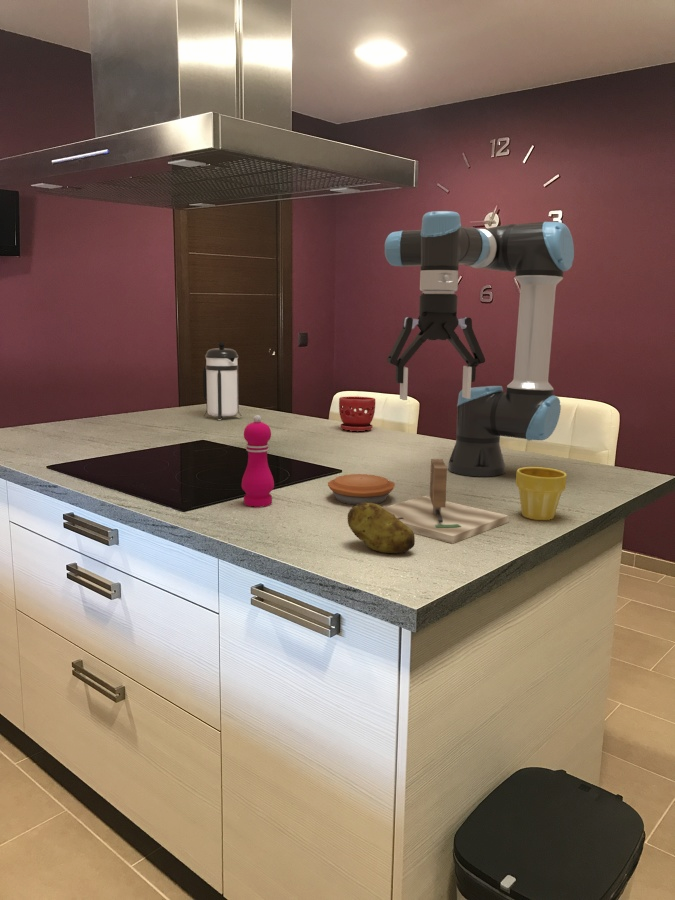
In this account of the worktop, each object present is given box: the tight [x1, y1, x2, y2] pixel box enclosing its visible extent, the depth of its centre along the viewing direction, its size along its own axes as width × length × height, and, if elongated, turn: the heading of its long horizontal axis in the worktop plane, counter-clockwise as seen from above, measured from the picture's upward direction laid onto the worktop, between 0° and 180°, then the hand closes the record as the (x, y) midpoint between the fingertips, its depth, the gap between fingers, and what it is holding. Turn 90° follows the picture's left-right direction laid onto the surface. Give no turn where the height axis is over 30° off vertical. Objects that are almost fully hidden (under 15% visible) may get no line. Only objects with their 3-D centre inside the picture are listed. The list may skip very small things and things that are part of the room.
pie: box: [327, 473, 396, 506], centre depth 167 cm, size 15×16×5 cm
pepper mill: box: [241, 414, 275, 508], centre depth 160 cm, size 7×7×20 cm
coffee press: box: [202, 341, 243, 420], centre depth 284 cm, size 17×16×30 cm
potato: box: [347, 502, 416, 554], centre depth 132 cm, size 8×13×8 cm, turn 38°
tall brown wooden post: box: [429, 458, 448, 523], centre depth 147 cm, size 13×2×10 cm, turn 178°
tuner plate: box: [382, 495, 510, 545], centre depth 150 cm, size 20×22×2 cm
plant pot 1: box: [338, 396, 376, 432], centre depth 262 cm, size 13×13×12 cm
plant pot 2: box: [515, 466, 568, 521], centre depth 154 cm, size 10×10×10 cm
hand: (435, 398), depth 149 cm, fingers open, 13 cm apart
